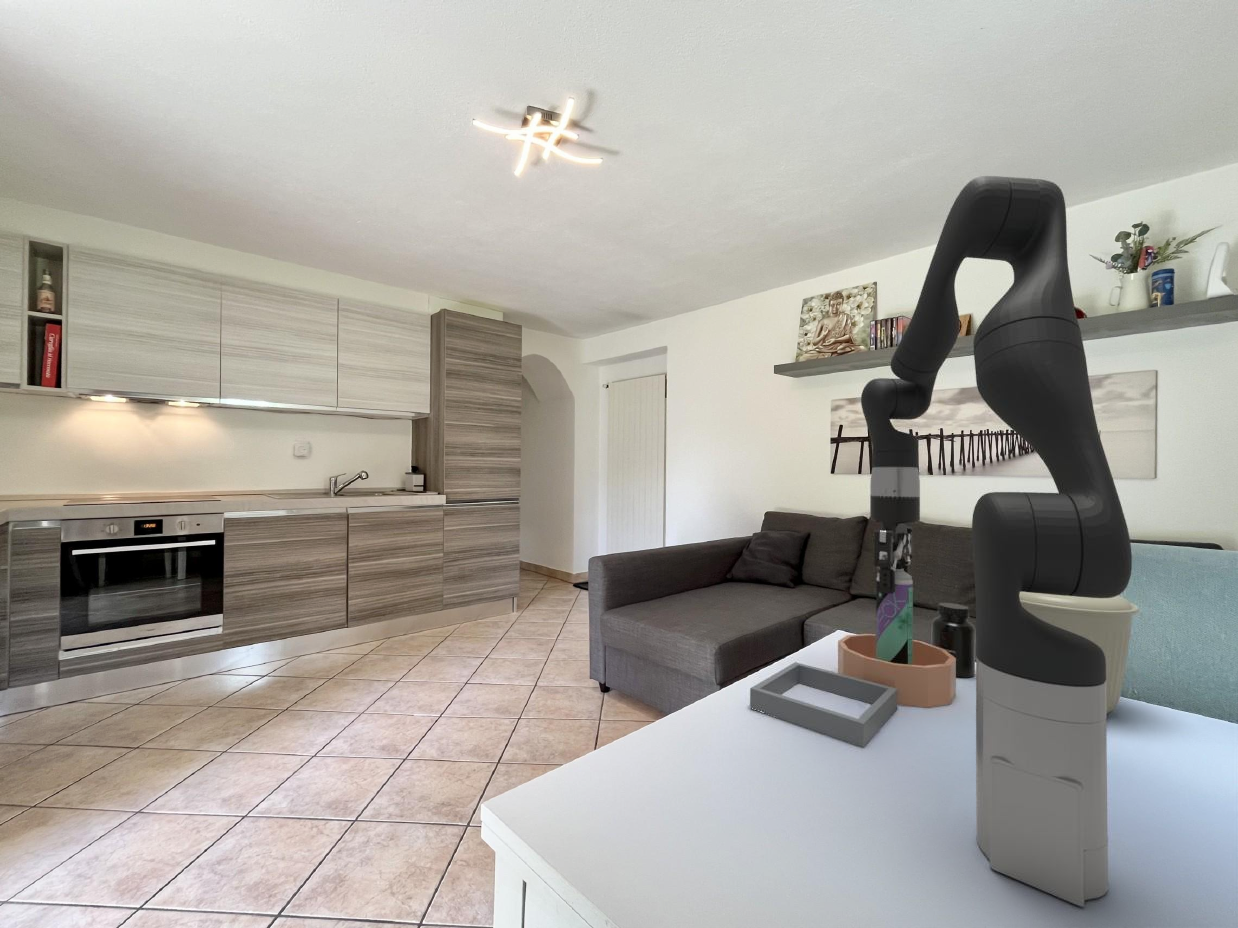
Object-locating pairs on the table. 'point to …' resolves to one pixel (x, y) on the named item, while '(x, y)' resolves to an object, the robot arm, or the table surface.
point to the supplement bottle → (955, 636)
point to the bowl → (902, 670)
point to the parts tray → (819, 718)
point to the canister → (1091, 628)
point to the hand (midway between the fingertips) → (894, 589)
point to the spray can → (895, 620)
